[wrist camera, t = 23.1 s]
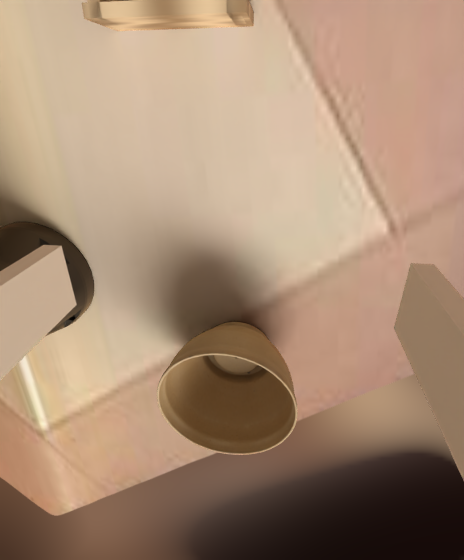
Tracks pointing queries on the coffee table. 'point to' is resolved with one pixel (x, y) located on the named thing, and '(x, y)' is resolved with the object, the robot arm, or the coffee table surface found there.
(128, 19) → the shelf bay
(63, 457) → the coffee table surface
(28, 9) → the coffee table surface
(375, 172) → the coffee table surface
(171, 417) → the planter bowl
